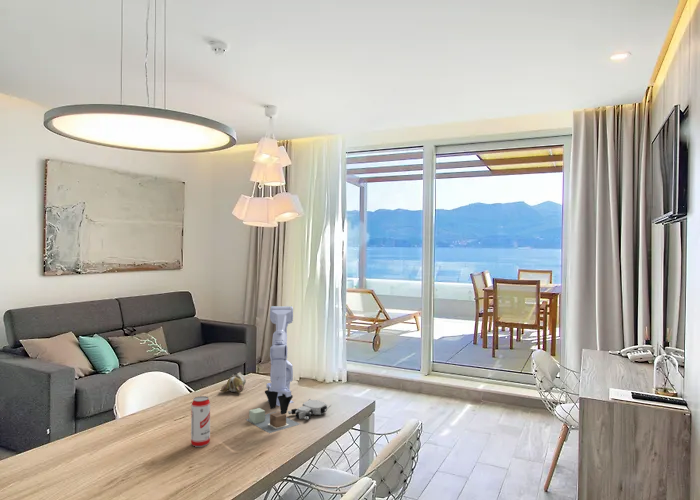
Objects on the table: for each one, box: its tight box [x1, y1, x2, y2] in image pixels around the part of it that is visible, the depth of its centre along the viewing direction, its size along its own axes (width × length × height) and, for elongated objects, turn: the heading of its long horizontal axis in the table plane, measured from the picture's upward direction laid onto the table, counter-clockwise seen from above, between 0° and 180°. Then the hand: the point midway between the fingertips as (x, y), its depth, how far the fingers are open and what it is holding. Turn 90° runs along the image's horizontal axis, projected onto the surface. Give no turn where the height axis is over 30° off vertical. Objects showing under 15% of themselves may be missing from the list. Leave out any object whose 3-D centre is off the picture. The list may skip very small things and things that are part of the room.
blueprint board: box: [245, 411, 301, 434], centre depth 184 cm, size 18×14×1 cm
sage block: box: [248, 407, 266, 424], centre depth 185 cm, size 4×4×4 cm
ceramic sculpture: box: [219, 371, 247, 393], centre depth 225 cm, size 11×9×15 cm
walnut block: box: [270, 410, 287, 428], centre depth 181 cm, size 4×4×4 cm
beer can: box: [190, 395, 211, 448], centre depth 163 cm, size 6×6×16 cm
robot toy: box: [287, 398, 332, 420], centre depth 193 cm, size 12×4×15 cm
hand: (278, 410), depth 181 cm, fingers open, 7 cm apart
